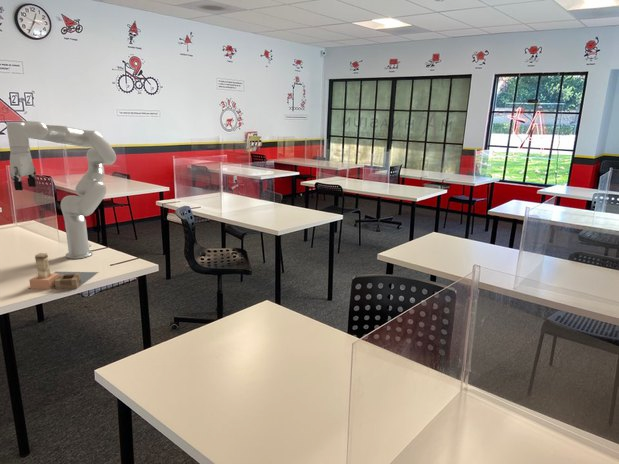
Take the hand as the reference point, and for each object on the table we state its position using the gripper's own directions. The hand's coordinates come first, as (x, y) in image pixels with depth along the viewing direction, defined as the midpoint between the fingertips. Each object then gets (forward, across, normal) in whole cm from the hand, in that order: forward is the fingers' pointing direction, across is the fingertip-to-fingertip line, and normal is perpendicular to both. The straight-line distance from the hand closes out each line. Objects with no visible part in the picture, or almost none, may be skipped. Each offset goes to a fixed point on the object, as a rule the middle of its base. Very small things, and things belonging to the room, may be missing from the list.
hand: (25, 188), depth 204 cm
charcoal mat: (+38, +16, +22) cm, 47 cm away
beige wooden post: (+38, +23, +17) cm, 48 cm away
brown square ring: (+38, +23, +27) cm, 52 cm away
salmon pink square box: (+38, +23, +17) cm, 47 cm away
